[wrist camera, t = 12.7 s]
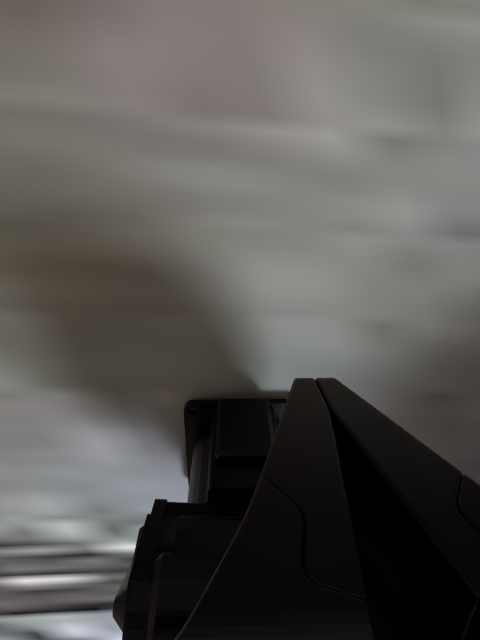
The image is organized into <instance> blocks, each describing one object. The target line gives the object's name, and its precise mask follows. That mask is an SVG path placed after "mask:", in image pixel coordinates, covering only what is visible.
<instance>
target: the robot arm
mask: <svg viewBox="0 0 480 640" xmlns="http://www.w3.org/2000/svg"><path fill="white" fill-rule="evenodd" d="M191 408H195V409H196V411H191V410H190V409H191ZM184 423H185V438H186V453H187V468H188V483H189V493H188V502H187V503H180V502H167V500H165V499H155V502H154V505H153V509H152V512H151V514H147V518H146V521H145V524H144V526H143V527H141V528H140V530H139V534H138V539H137V543H136V548H135V552H134V557H133V560H132V563H131V566H130V568H129V570H128V572H127V574H126V576H125V578H124V581H123V583H122V585H121V587H120V589H119V591H118V593H117V595H116V597H115V601H114V606H113V618H114V619H115V621H116V623H117V624H118V626H119V627H120V629H121V630H122V632H123V636H122V640H480V485H479V484H477V483H476V482H475V481H473V480H472V479H471V478H469V477H468V476H467V475H462V473H461V471H460V470H458V469H457V468H455V467H454V466H453V465H451V464H450V463H449V462H447V461H446V460H445V459H443V458H442V457H441V456H439V455H438V454H437V453H435V452H434V451H433V450H431V449H430V448H428V447H427V446H426V445H424V444H423V443H422V442H420V441H419V440H418V439H416V438H415V437H414V436H412V435H411V434H410V433H408V432H407V431H406V430H404V429H403V428H401V427H400V426H399V425H397V424H396V423H395V422H393V421H392V420H391V419H389V418H388V417H387V416H385V415H384V414H383V413H381V412H380V411H378V410H377V409H376V408H374V407H373V406H372V405H370V404H369V403H368V402H366V401H365V400H364V399H362V398H361V397H360V396H358V395H357V394H356V393H354V392H353V391H351V390H350V389H349V388H347V387H346V386H345V385H343V384H342V383H341V382H339V381H338V380H337V379H335V378H317V379H315V380H314V379H313V378H296V379H295V380H294V382H293V384H292V387H291V390H290V393H289V396H288V399H222V400H190V401H188V402H187V403H186V404H185V407H184Z"/></svg>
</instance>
